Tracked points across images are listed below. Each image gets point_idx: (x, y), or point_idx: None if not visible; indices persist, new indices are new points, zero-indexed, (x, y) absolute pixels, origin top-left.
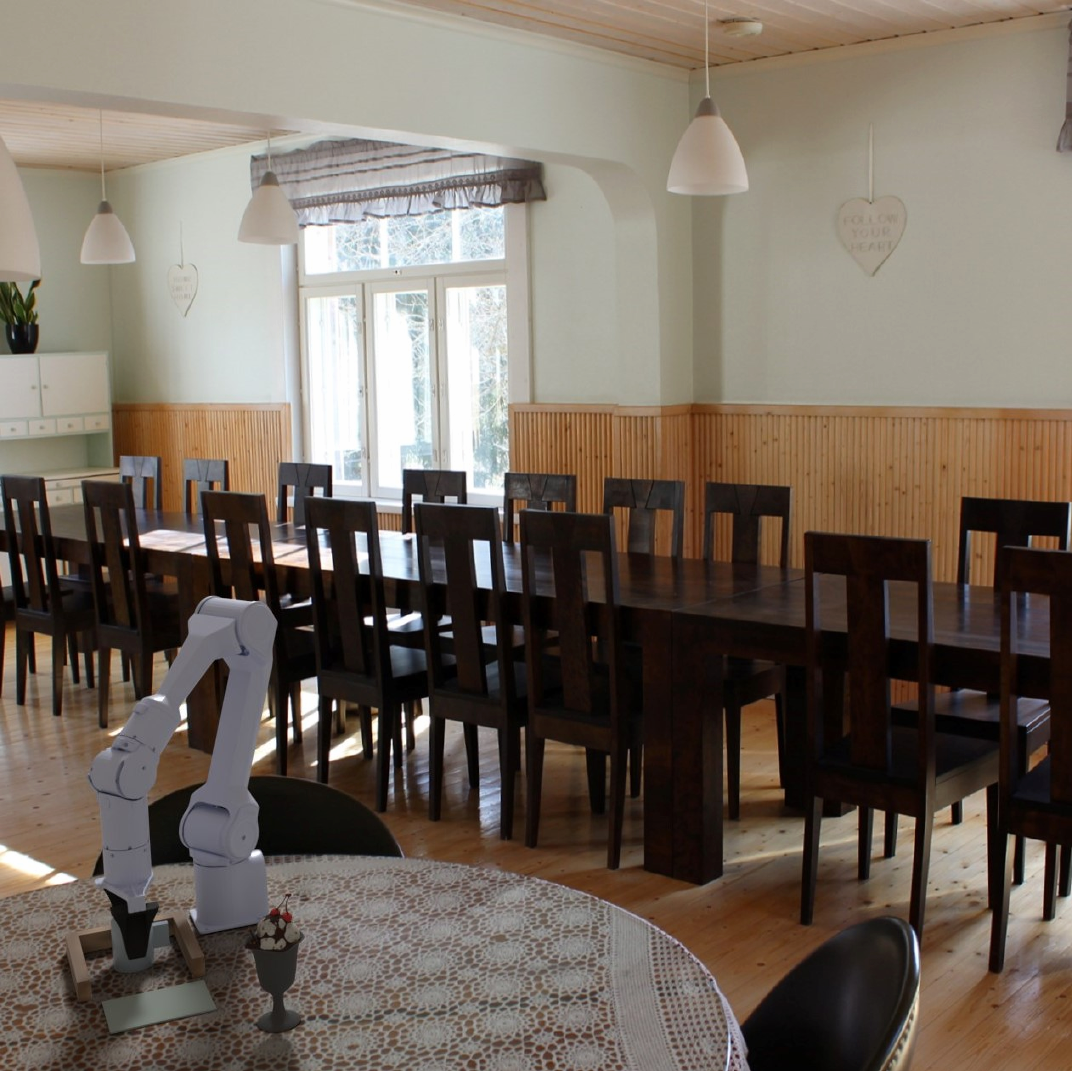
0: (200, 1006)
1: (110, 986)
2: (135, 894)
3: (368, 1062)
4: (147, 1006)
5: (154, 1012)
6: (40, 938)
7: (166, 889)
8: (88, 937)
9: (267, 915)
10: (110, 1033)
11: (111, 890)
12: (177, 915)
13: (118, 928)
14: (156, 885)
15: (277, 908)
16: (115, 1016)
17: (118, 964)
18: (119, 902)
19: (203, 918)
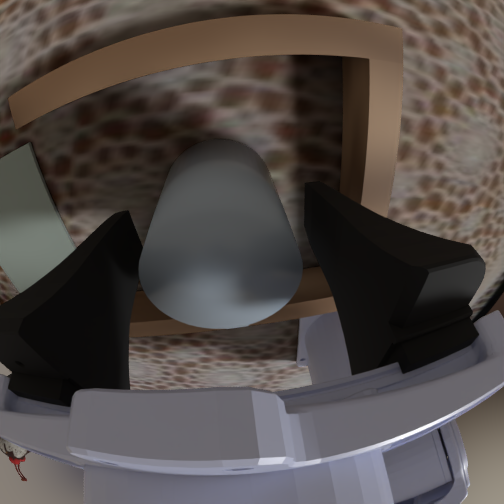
0: None
1: (101, 143)
2: (15, 443)
3: (7, 368)
4: (19, 231)
5: (7, 243)
6: (457, 12)
7: (485, 248)
8: (363, 87)
9: (9, 455)
10: None
11: (55, 426)
12: None
13: (150, 237)
14: (501, 236)
15: (14, 464)
16: None
17: (178, 162)
18: (353, 262)
19: (333, 319)
